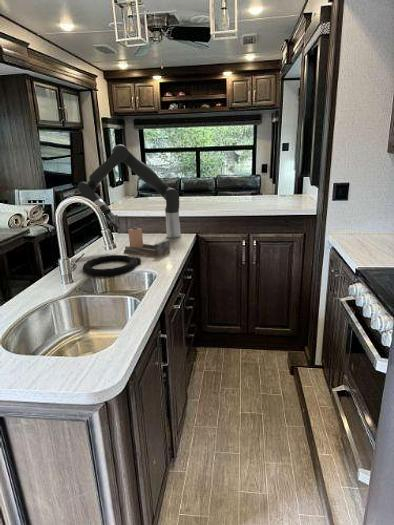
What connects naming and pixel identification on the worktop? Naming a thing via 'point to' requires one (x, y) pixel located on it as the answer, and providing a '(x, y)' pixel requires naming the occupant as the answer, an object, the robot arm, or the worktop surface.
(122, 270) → the cable lock
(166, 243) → the channel board
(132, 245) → the block
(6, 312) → the worktop surface
